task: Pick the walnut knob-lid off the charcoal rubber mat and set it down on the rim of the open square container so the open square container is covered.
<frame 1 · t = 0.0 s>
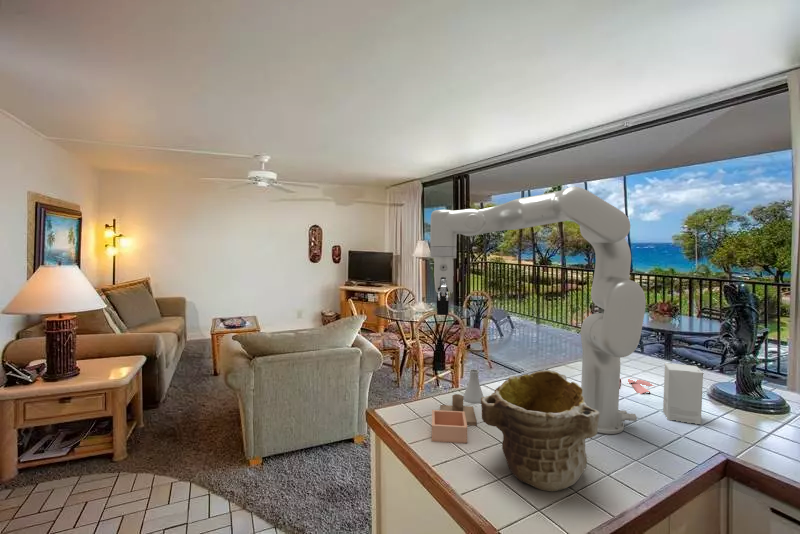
hand: (442, 311, 108), 31 cm above the counter, fingers open, 9 cm apart
lid: (457, 416, 109), resting on mat
skincare box: (680, 419, 110), on the counter
open square container: (448, 434, 99), on the counter
ceramic vessel: (532, 472, 84), on the counter
flask: (473, 401, 121), on the counter
mat: (457, 417, 109), on the counter
cloth: (625, 388, 135), on the counter
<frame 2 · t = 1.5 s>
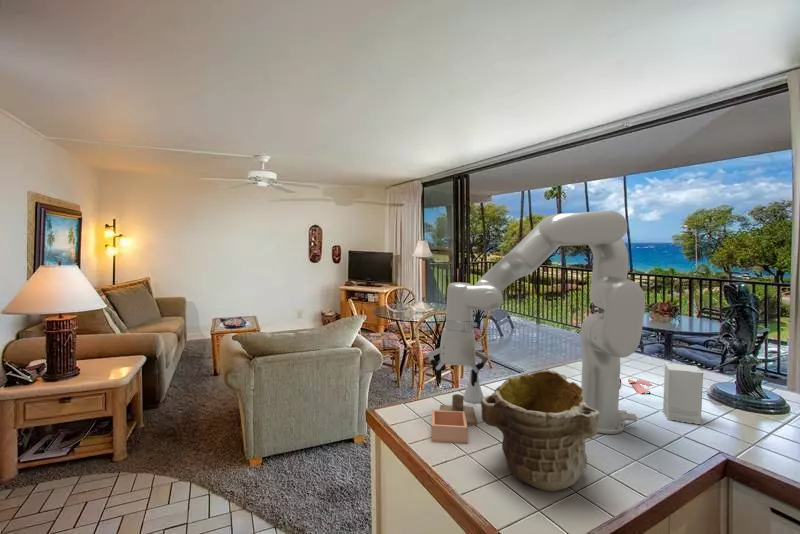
hand: (456, 383, 108), 10 cm above the counter, fingers open, 9 cm apart
nothing on the counter moved.
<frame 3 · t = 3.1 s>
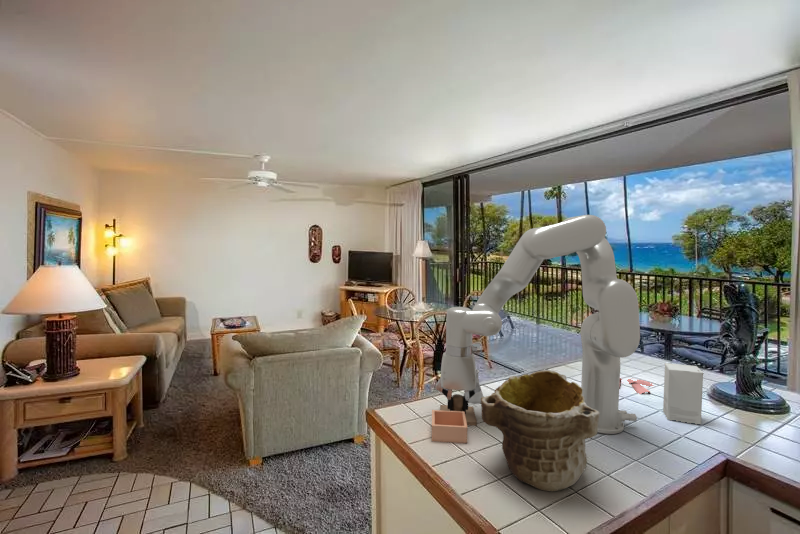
hand: (457, 411, 109), 2 cm above the counter, fingers closed on lid, 3 cm apart
lid: (457, 416, 109), resting on mat, touching gripper
everything else where it was.
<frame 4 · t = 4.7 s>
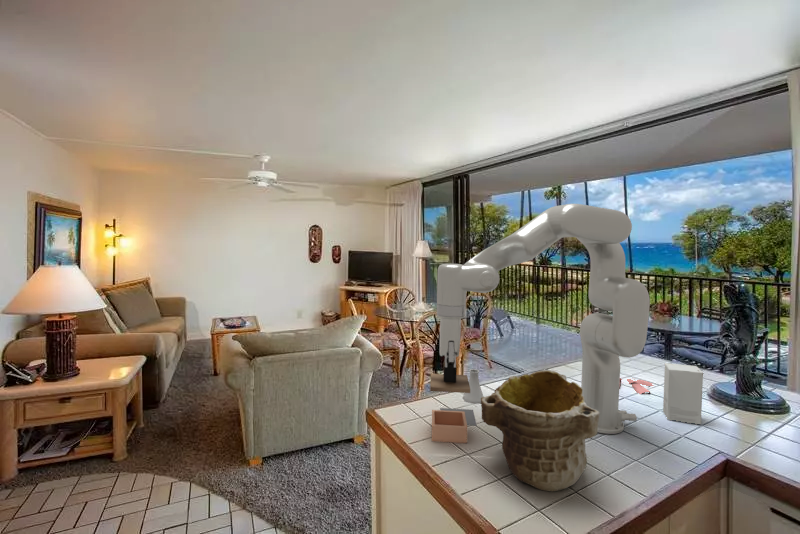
hand: (449, 378, 98), 15 cm above the counter, fingers closed on lid, 3 cm apart
lid: (449, 384, 98), point 14 cm above the counter, touching gripper
everything else where it was.
when the fingers open (7 cm above the counter, at t = 6.4 s): lid drops 1 cm, resting on open square container.
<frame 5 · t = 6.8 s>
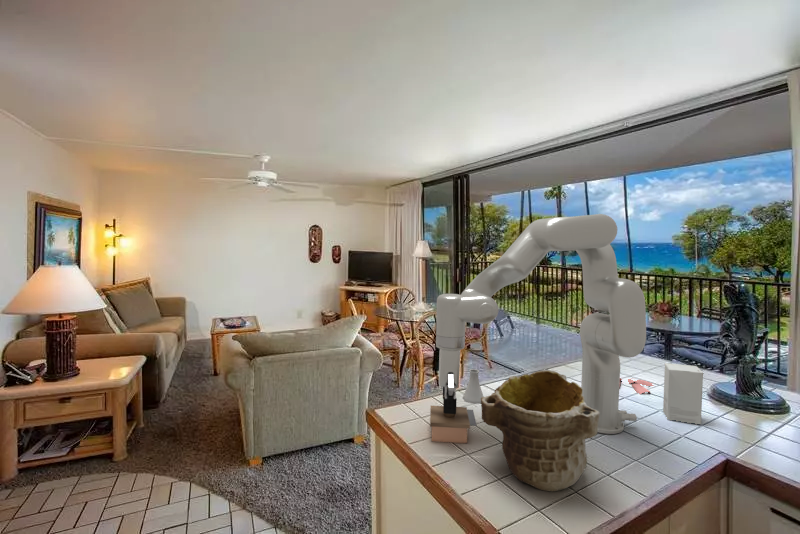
hand: (449, 405, 99), 8 cm above the counter, fingers open, 8 cm apart
lid: (449, 418, 99), point 4 cm above the counter, touching open square container
everything else where it was.
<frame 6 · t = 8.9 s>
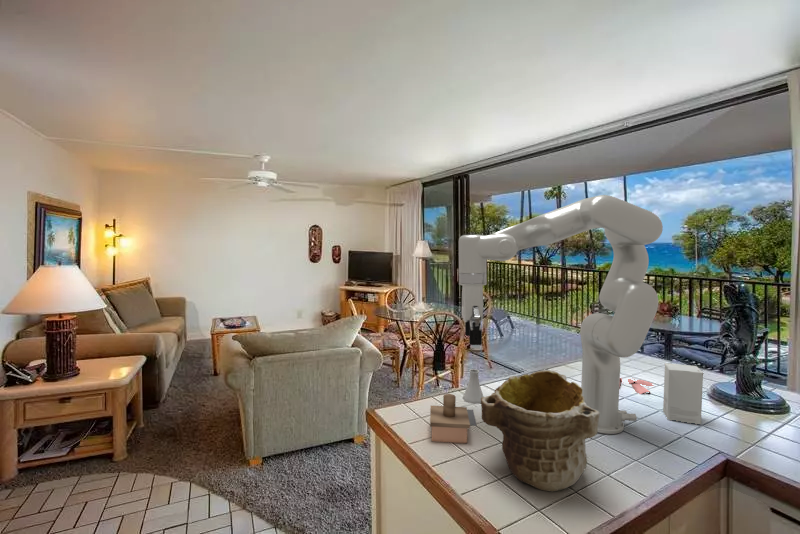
hand: (473, 339, 104), 24 cm above the counter, fingers open, 9 cm apart
nothing on the counter moved.
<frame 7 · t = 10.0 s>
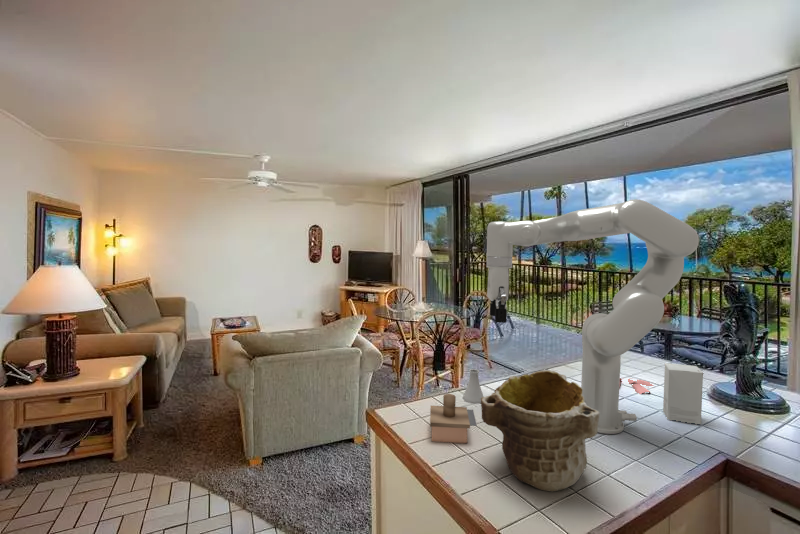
hand: (497, 318, 113), 28 cm above the counter, fingers open, 9 cm apart
nothing on the counter moved.
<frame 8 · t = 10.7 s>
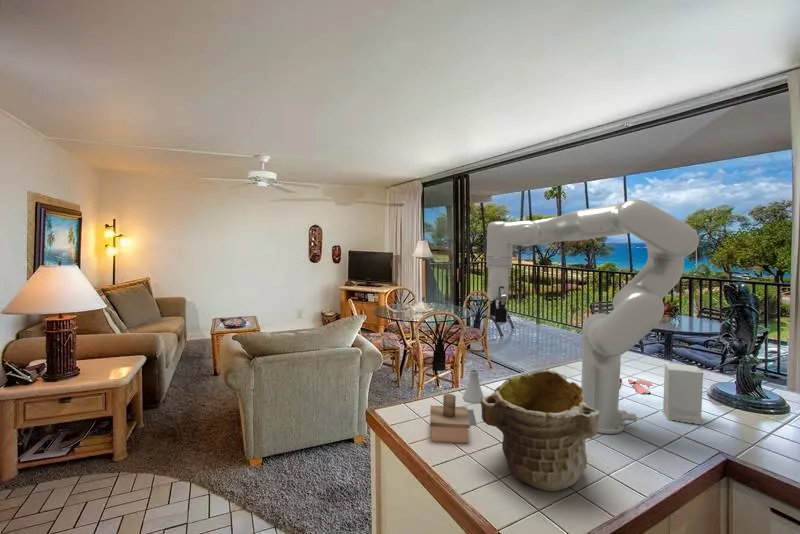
hand: (497, 318, 113), 28 cm above the counter, fingers open, 9 cm apart
nothing on the counter moved.
at the end: lid 0.1 cm off-centre on the open square container, point 4.5 cm above the open square container's base; lid tilted 0°; the gripper is holding nothing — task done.
